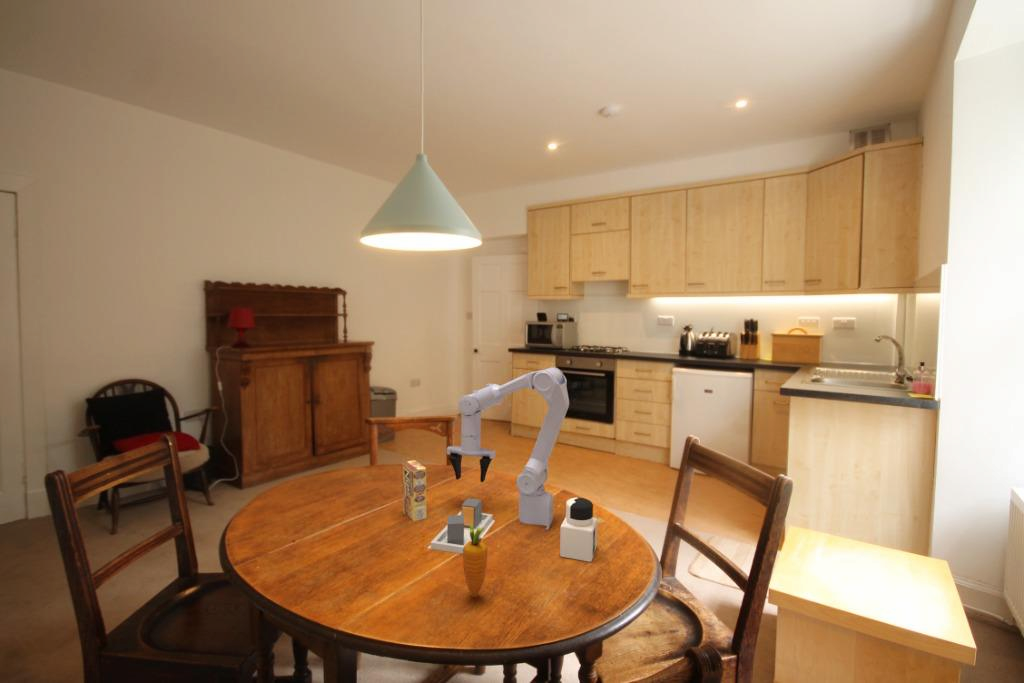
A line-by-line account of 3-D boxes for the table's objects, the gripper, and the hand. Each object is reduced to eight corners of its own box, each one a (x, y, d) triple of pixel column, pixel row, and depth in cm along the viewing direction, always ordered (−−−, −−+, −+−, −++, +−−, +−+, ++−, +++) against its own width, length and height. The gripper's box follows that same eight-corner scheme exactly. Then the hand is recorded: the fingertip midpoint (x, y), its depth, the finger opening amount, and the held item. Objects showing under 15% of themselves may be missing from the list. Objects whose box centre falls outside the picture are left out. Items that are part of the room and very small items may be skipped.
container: (596, 547, 117) (597, 497, 117) (591, 562, 110) (592, 508, 109) (566, 542, 120) (567, 493, 119) (559, 557, 113) (560, 504, 112)
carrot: (462, 590, 98) (463, 520, 97) (486, 589, 99) (487, 520, 98) (462, 605, 93) (462, 531, 92) (487, 604, 94) (487, 531, 93)
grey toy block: (481, 521, 130) (481, 499, 129) (474, 529, 124) (474, 507, 124) (468, 519, 131) (468, 498, 130) (460, 527, 125) (460, 505, 125)
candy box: (427, 521, 131) (427, 467, 130) (413, 524, 129) (413, 470, 128) (415, 510, 139) (415, 459, 138) (401, 513, 136) (401, 461, 136)
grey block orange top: (447, 548, 114) (447, 524, 114) (447, 537, 119) (447, 514, 119) (463, 547, 115) (463, 523, 114) (463, 537, 120) (463, 514, 120)
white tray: (495, 523, 130) (495, 514, 130) (469, 558, 111) (469, 548, 111) (458, 518, 133) (458, 510, 133) (427, 552, 114) (427, 542, 114)
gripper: (498, 433, 140) (497, 477, 140) (453, 429, 143) (452, 473, 144) (491, 439, 133) (490, 485, 134) (444, 435, 137) (443, 480, 137)
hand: (470, 479), depth 138 cm, fingers open, 7 cm apart
